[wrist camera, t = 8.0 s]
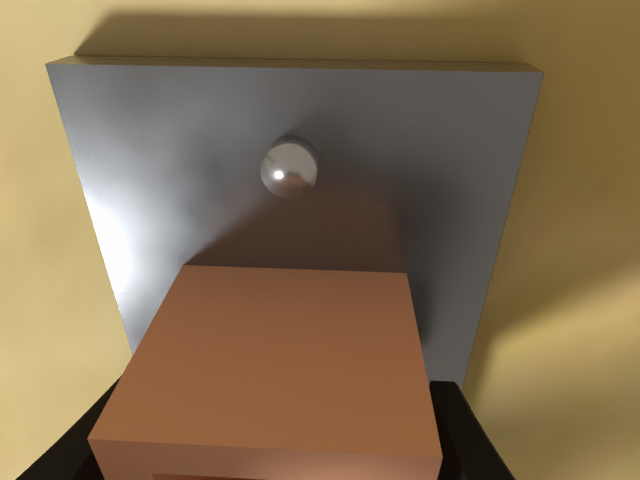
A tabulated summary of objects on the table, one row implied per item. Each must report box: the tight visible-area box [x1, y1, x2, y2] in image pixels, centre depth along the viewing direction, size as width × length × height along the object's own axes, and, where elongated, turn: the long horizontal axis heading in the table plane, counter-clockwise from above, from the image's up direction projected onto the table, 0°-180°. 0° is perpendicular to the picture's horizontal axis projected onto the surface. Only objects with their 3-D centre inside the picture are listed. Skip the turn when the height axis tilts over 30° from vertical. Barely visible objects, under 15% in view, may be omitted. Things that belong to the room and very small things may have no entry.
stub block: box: [45, 56, 544, 390], centre depth 13 cm, size 16×10×3 cm, turn 1°
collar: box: [87, 265, 443, 480], centre depth 11 cm, size 6×6×5 cm
